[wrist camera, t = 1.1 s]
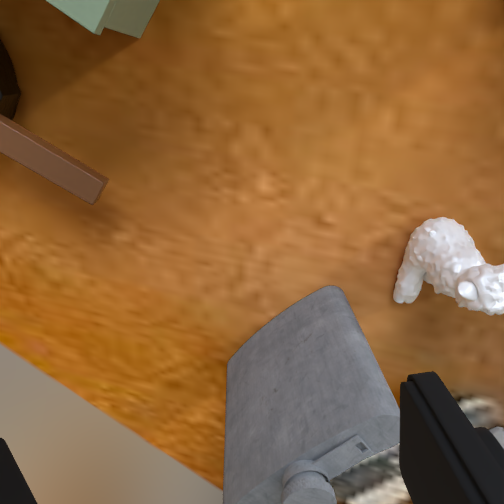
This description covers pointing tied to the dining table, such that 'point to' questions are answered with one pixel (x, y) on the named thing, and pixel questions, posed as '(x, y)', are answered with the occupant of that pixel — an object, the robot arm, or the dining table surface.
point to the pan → (41, 145)
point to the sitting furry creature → (449, 268)
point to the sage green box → (109, 14)
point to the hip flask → (304, 405)
